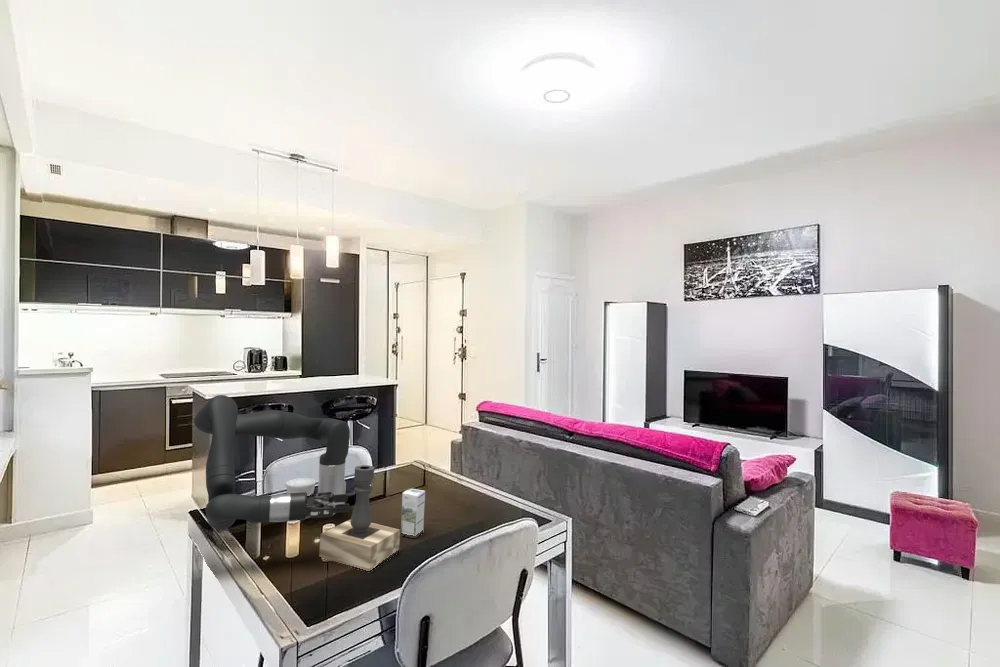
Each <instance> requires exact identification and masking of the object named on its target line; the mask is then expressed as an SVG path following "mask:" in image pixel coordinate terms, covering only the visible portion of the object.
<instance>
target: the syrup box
mask: <svg viewBox="0 0 1000 667" xmlns="http://www.w3.org/2000/svg"><path fill="white" fill-rule="evenodd" d="M401 498H402V502H401V516H400V517H401V522H400V524H401V525H400V534H401V533H403V534H407V535H413V536H416V535H417V534H418V533H420V532H421V531H422V530H423V531H424V520H425V502H426V490H422V489H418V488H417V489H416V488H408V489H406V490H405V491H403V492H402V497H401Z"/></svg>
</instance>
